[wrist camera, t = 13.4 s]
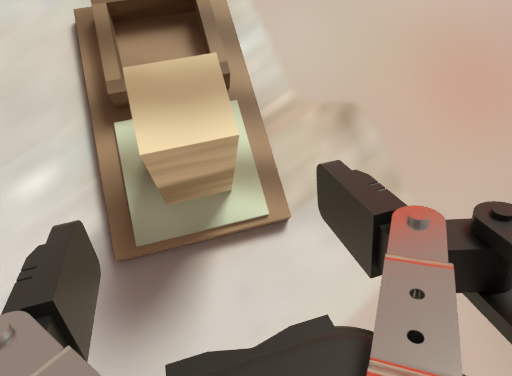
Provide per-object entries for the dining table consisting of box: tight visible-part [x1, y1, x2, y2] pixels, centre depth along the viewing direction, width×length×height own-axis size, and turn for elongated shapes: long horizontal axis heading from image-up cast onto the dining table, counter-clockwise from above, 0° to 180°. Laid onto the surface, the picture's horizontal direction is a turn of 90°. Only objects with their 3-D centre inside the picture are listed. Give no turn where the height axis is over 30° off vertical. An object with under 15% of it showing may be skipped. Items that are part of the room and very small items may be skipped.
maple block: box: [122, 53, 239, 205], centre depth 21 cm, size 4×4×9 cm
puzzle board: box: [74, 0, 291, 262], centre depth 26 cm, size 20×12×3 cm, turn 15°
